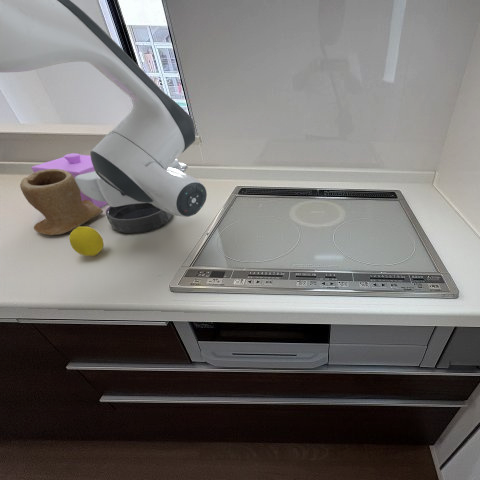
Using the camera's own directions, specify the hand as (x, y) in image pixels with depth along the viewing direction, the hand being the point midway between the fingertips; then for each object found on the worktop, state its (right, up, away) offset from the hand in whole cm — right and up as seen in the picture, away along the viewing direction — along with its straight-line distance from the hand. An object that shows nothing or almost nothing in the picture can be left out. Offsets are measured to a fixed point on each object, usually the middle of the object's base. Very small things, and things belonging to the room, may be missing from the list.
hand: (117, 166), depth 63 cm
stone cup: (-19, -13, +10) cm, 25 cm away
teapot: (-25, -4, +24) cm, 35 cm away
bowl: (-2, -12, +13) cm, 17 cm away
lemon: (-5, -22, -1) cm, 22 cm away
